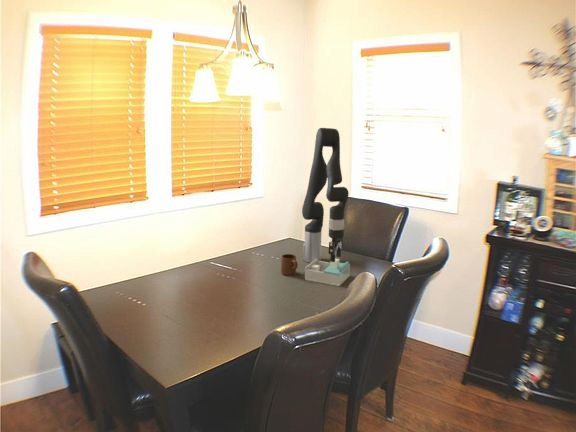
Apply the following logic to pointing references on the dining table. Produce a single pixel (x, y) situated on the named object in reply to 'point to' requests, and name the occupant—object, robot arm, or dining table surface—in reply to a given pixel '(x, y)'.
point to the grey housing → (316, 273)
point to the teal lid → (337, 271)
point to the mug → (288, 264)
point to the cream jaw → (335, 264)
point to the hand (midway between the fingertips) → (335, 259)
